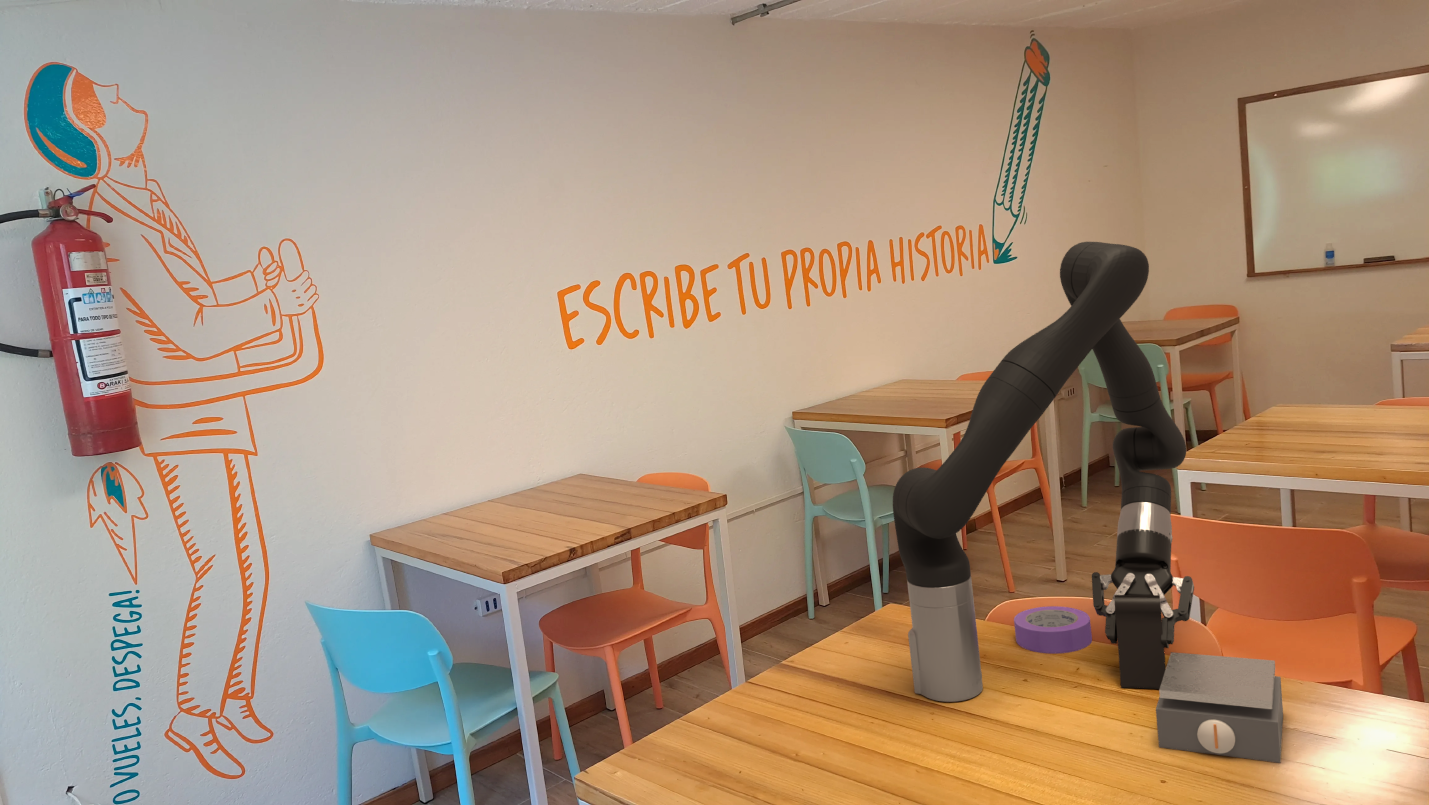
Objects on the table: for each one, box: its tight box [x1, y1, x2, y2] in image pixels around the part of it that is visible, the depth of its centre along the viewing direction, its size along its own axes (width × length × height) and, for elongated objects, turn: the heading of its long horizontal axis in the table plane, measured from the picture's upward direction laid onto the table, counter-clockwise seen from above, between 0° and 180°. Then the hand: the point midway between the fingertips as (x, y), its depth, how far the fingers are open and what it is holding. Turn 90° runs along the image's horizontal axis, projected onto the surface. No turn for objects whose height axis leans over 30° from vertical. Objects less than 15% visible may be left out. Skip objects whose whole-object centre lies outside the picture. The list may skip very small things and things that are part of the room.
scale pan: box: [1158, 651, 1276, 709], centre depth 120 cm, size 12×12×1 cm
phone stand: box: [1114, 595, 1167, 690], centre depth 138 cm, size 9×6×12 cm, turn 156°
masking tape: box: [1013, 605, 1093, 655], centre depth 155 cm, size 12×12×4 cm
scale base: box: [1155, 675, 1284, 764], centre depth 120 cm, size 13×14×5 cm
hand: (1138, 643), depth 136 cm, fingers closed on phone stand, 6 cm apart
